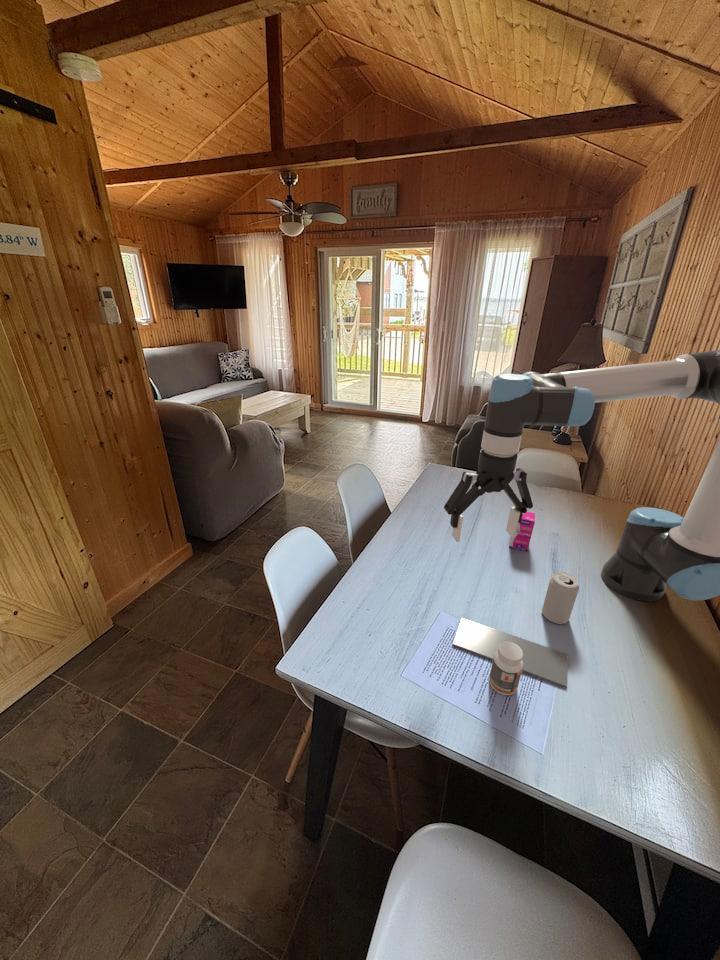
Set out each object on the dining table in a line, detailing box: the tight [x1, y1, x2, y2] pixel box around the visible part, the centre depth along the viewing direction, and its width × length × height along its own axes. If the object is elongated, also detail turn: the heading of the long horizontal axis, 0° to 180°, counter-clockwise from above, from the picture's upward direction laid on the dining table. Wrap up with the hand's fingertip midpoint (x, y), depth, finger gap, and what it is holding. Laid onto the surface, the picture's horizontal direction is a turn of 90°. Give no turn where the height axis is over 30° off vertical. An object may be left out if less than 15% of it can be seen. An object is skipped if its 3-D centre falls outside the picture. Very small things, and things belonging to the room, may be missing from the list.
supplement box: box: [508, 511, 536, 552], centre depth 125 cm, size 6×6×12 cm
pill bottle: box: [488, 641, 523, 696], centre depth 80 cm, size 6×6×10 cm
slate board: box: [451, 617, 568, 689], centre depth 90 cm, size 24×9×1 cm, turn 63°
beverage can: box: [541, 571, 580, 625], centre depth 97 cm, size 6×6×12 cm
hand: (483, 536), depth 91 cm, fingers open, 13 cm apart
